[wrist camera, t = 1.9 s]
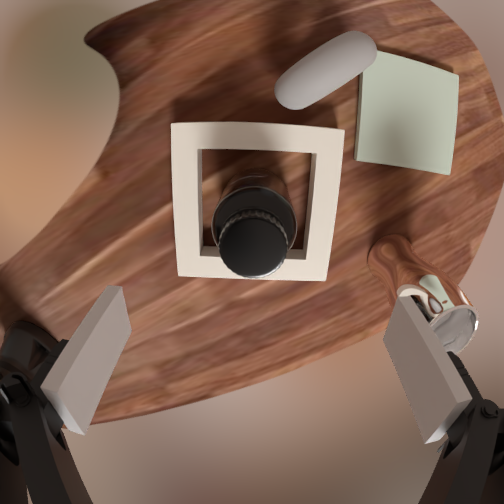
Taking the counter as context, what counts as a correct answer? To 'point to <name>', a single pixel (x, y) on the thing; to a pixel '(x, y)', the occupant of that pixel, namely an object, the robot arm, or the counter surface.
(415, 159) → the mat
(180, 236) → the holder
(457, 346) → the beer glass
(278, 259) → the supplement bottle
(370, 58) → the donut
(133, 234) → the counter surface
